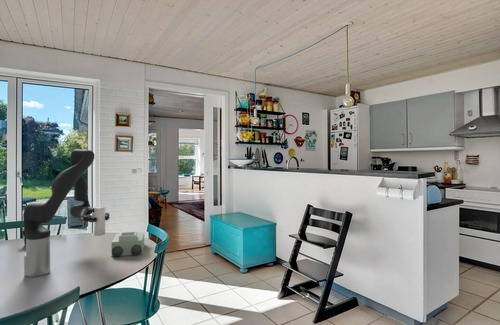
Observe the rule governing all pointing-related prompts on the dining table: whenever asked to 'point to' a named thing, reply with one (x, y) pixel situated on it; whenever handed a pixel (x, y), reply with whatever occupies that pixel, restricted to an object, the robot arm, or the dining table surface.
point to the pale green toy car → (128, 244)
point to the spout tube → (99, 221)
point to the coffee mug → (24, 237)
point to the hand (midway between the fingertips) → (101, 219)
